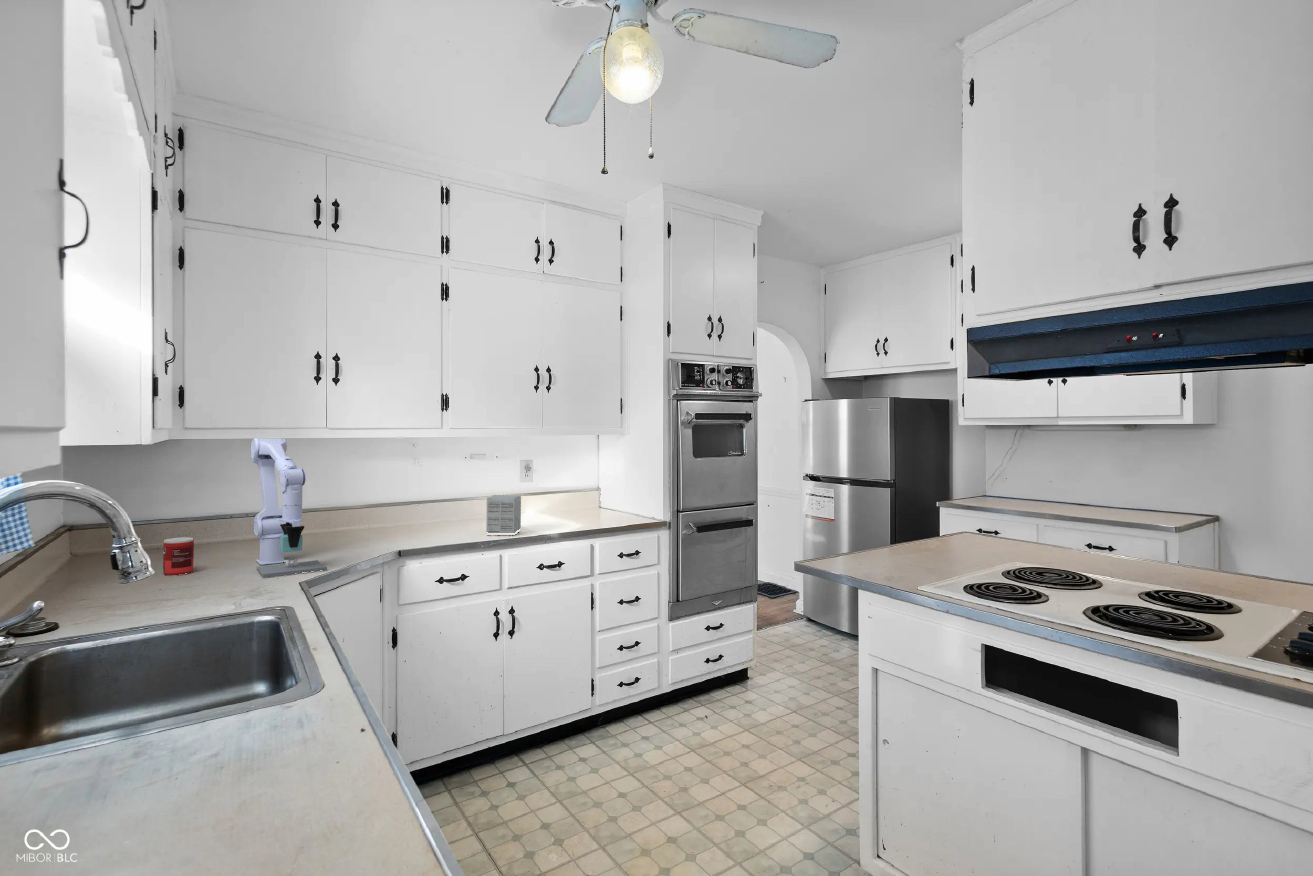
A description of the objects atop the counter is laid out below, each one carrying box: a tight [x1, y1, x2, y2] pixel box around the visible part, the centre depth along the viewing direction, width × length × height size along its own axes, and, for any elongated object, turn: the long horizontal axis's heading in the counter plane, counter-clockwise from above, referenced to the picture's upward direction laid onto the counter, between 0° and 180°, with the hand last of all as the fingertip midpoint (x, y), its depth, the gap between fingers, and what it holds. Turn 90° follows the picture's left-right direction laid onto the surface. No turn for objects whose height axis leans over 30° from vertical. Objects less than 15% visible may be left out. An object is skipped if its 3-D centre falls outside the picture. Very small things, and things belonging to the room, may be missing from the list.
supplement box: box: [485, 494, 522, 533], centre depth 285 cm, size 13×13×18 cm
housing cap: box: [280, 534, 303, 554], centre depth 204 cm, size 6×6×5 cm
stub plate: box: [256, 558, 328, 579], centre depth 204 cm, size 14×18×4 cm
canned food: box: [162, 536, 195, 576], centre depth 198 cm, size 8×8×11 cm
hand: (291, 546), depth 204 cm, fingers closed on housing cap, 6 cm apart
